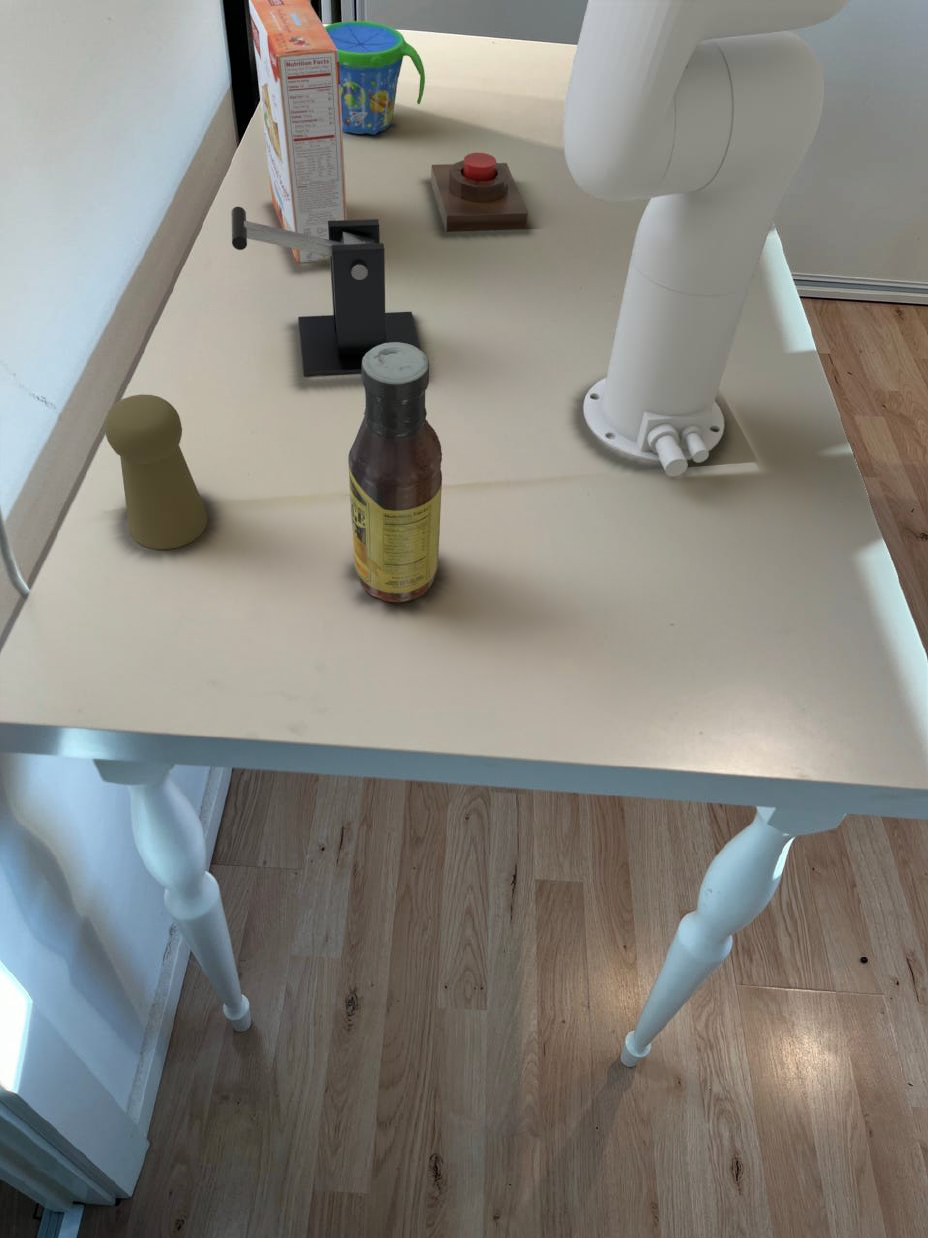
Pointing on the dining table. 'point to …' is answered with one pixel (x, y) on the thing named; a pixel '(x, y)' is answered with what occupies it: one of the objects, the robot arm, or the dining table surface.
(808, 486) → the dining table surface
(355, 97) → the snack cup
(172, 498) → the olive pawn
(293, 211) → the cracker box
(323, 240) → the lever
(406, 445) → the sauce bottle
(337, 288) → the bracket
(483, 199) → the button block
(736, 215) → the robot arm
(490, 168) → the button
